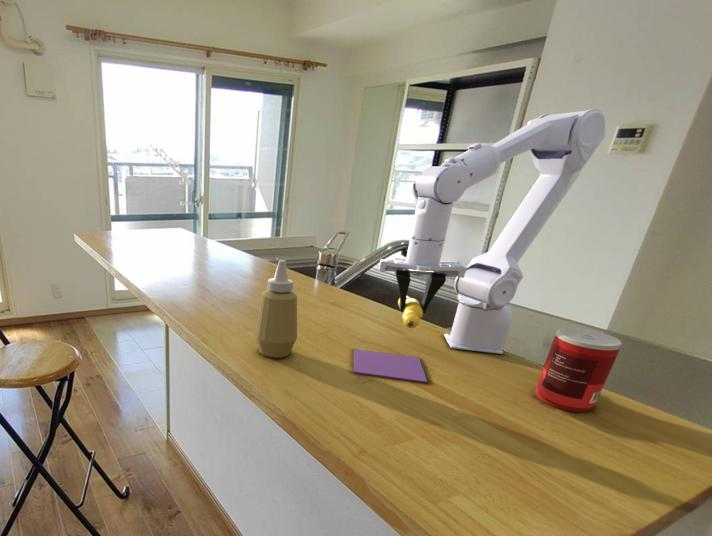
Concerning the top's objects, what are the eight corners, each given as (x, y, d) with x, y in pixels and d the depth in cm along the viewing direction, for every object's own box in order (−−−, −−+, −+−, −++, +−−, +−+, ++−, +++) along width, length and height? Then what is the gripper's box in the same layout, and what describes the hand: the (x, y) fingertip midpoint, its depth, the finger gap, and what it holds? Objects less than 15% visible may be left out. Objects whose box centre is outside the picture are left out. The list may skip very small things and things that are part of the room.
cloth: (418, 358, 82) (418, 357, 82) (426, 383, 73) (427, 381, 73) (353, 350, 86) (354, 349, 85) (353, 373, 76) (354, 371, 76)
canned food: (580, 393, 70) (607, 330, 66) (603, 417, 63) (634, 349, 59) (526, 385, 73) (548, 324, 68) (543, 408, 66) (568, 341, 61)
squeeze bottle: (250, 345, 87) (256, 256, 80) (289, 344, 88) (298, 256, 80) (257, 361, 80) (264, 265, 72) (300, 360, 80) (310, 265, 73)
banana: (414, 306, 90) (417, 291, 89) (425, 333, 75) (429, 315, 74) (396, 304, 91) (399, 290, 90) (403, 330, 76) (407, 313, 75)
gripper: (385, 239, 76) (373, 312, 81) (477, 244, 72) (457, 321, 77) (384, 234, 82) (372, 302, 87) (468, 238, 78) (450, 310, 83)
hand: (411, 310), depth 83 cm, fingers closed on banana, 3 cm apart
